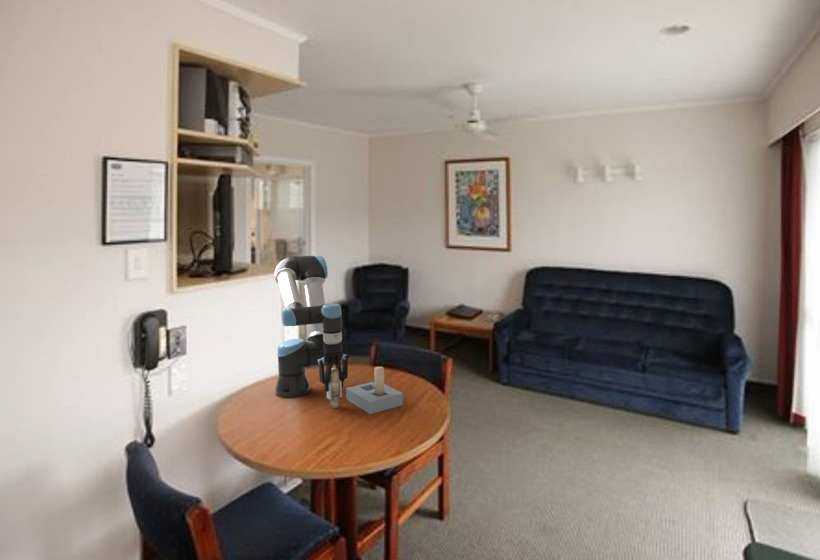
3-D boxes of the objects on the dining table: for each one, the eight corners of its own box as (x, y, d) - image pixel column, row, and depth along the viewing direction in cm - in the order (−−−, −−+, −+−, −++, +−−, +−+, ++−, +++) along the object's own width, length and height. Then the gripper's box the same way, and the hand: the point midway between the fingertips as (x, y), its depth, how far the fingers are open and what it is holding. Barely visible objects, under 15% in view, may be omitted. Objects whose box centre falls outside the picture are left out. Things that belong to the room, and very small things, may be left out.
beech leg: (327, 406, 200) (326, 369, 198) (336, 404, 202) (335, 367, 200) (332, 409, 196) (331, 371, 194) (341, 407, 199) (340, 369, 197)
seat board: (346, 399, 208) (345, 363, 206) (377, 391, 217) (377, 356, 215) (370, 414, 192) (369, 375, 190) (403, 405, 201) (402, 367, 199)
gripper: (317, 347, 188) (319, 404, 191) (355, 340, 197) (357, 395, 201) (309, 343, 194) (311, 399, 197) (347, 336, 204) (348, 390, 207)
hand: (334, 397), depth 199 cm, fingers closed on beech leg, 4 cm apart
